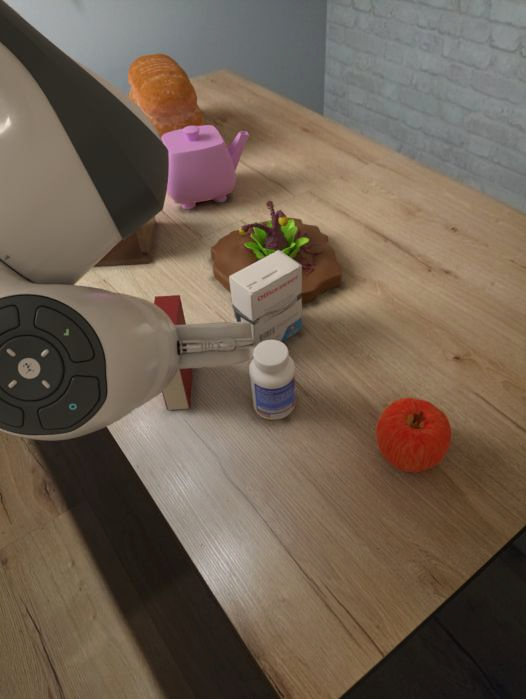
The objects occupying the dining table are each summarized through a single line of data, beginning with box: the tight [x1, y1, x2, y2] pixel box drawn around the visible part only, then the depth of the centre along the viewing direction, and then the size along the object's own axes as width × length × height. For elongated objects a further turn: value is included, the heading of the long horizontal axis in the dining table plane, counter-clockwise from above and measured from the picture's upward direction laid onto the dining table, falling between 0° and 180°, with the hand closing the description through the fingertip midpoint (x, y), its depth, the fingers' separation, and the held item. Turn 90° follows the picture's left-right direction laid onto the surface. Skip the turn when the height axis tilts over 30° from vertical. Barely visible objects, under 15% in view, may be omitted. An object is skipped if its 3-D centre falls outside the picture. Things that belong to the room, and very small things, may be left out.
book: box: [153, 294, 194, 411], centre depth 63 cm, size 3×8×12 cm, turn 2°
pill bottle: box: [248, 340, 296, 421], centre depth 61 cm, size 5×5×10 cm
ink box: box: [229, 250, 303, 352], centre depth 69 cm, size 8×5×12 cm, turn 130°
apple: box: [375, 397, 453, 473], centre depth 57 cm, size 8×8×8 cm
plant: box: [210, 200, 342, 305], centre depth 79 cm, size 20×20×11 cm
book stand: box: [93, 216, 157, 268], centre depth 85 cm, size 16×12×13 cm
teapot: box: [162, 124, 250, 210], centre depth 95 cm, size 20×12×13 cm, turn 109°
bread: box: [127, 53, 207, 139], centre depth 110 cm, size 14×26×15 cm, turn 19°
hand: (157, 344), depth 54 cm, fingers open, 8 cm apart
